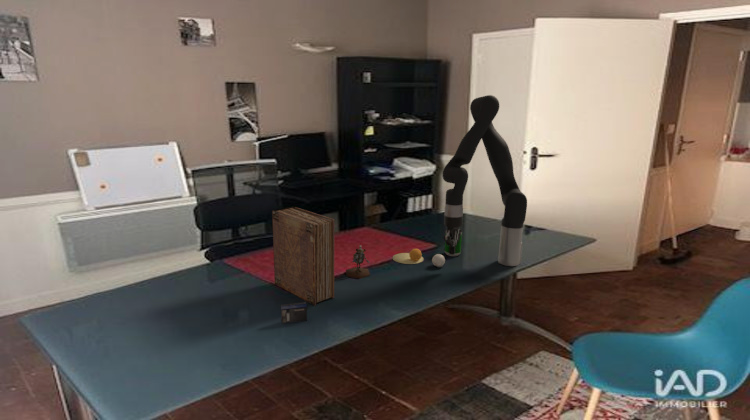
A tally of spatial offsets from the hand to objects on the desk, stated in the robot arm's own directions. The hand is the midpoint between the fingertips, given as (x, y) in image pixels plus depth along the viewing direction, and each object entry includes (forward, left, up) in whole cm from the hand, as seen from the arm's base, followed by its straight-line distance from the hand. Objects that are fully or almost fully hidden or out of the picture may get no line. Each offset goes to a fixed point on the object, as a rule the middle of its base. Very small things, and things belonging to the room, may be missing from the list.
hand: (452, 253), depth 206 cm
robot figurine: (+38, -13, -8) cm, 41 cm away
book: (+64, -6, -8) cm, 65 cm away
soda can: (-13, -16, -8) cm, 22 cm away
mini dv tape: (+75, +15, -8) cm, 77 cm away
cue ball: (+2, -6, -5) cm, 8 cm away
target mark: (+9, -20, -7) cm, 23 cm away
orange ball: (+7, -17, -5) cm, 19 cm away
